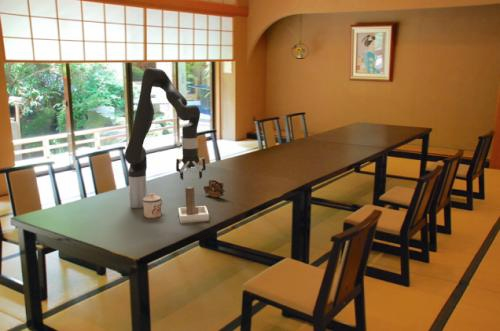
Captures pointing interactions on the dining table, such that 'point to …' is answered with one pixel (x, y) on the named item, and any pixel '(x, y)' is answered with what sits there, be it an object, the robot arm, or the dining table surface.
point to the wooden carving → (214, 188)
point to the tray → (199, 217)
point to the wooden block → (190, 201)
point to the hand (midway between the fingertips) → (191, 179)
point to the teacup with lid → (152, 206)
